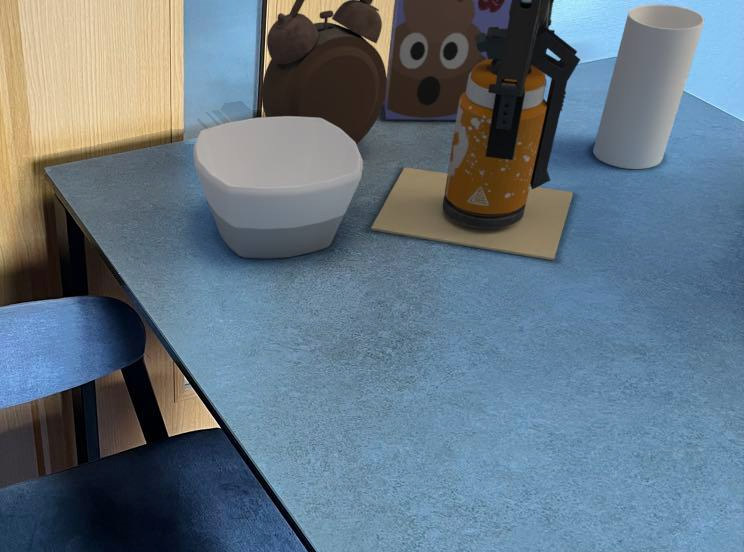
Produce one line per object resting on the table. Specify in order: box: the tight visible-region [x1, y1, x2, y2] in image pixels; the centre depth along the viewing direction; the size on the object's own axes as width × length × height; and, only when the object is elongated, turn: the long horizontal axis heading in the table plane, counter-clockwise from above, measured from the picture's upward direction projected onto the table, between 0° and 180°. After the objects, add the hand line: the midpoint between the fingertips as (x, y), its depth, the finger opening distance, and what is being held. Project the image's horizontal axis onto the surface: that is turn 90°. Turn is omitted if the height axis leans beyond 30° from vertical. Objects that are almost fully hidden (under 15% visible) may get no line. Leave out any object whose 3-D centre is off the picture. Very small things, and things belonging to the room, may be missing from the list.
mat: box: [370, 166, 574, 261], centre depth 118 cm, size 20×16×1 cm
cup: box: [592, 3, 705, 170], centre depth 122 cm, size 8×8×16 cm
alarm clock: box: [261, 0, 387, 145], centre depth 121 cm, size 14×7×20 cm, turn 115°
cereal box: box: [383, 0, 512, 122], centre depth 128 cm, size 17×5×24 cm, turn 86°
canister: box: [443, 25, 581, 229], centre depth 109 cm, size 9×11×20 cm
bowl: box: [192, 116, 364, 259], centre depth 112 cm, size 18×18×9 cm
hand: (510, 130), depth 109 cm, fingers open, 13 cm apart
